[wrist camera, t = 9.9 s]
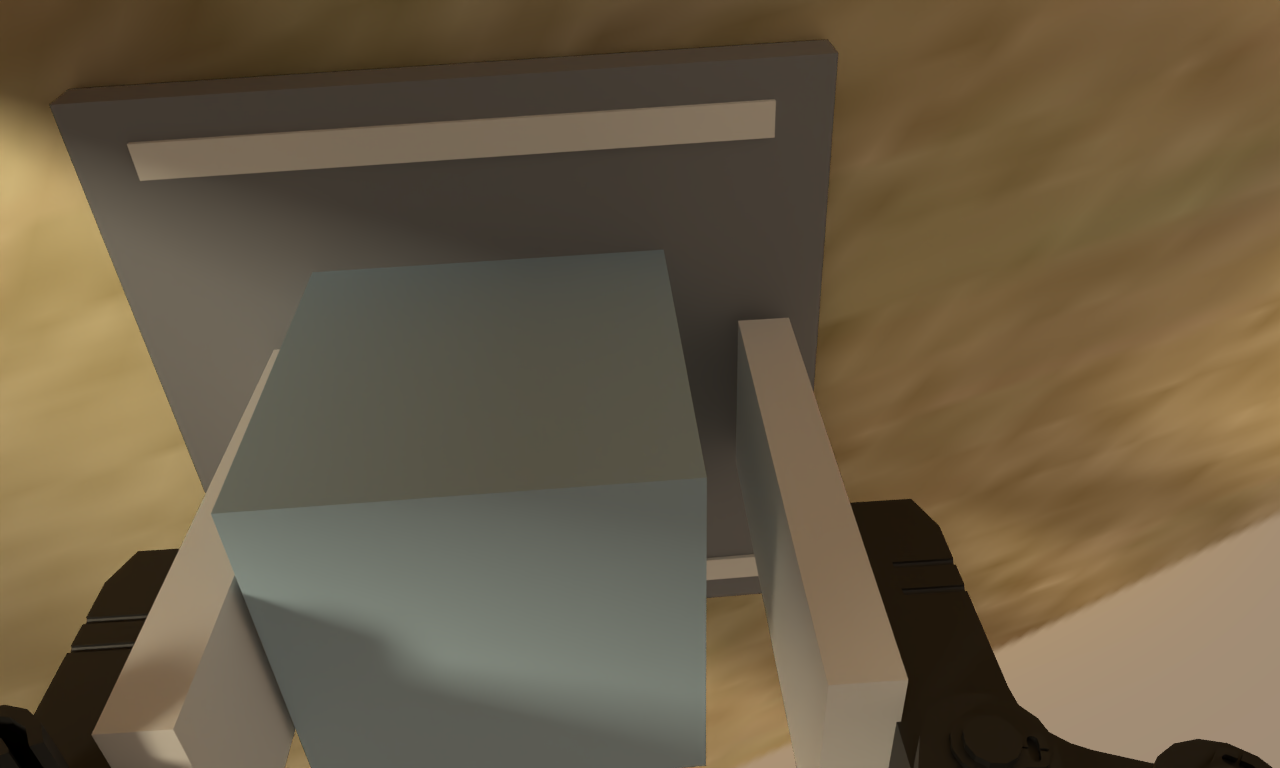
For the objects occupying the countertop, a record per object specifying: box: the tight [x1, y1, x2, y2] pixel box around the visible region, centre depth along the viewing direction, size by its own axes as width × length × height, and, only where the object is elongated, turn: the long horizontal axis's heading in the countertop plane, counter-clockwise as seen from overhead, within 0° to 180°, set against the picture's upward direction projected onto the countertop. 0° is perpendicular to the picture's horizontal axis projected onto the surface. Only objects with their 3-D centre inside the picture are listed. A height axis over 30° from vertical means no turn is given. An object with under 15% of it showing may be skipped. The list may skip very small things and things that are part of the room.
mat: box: [49, 40, 838, 598], centre depth 16 cm, size 10×10×1 cm
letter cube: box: [211, 250, 707, 768], centre depth 13 cm, size 5×5×5 cm
